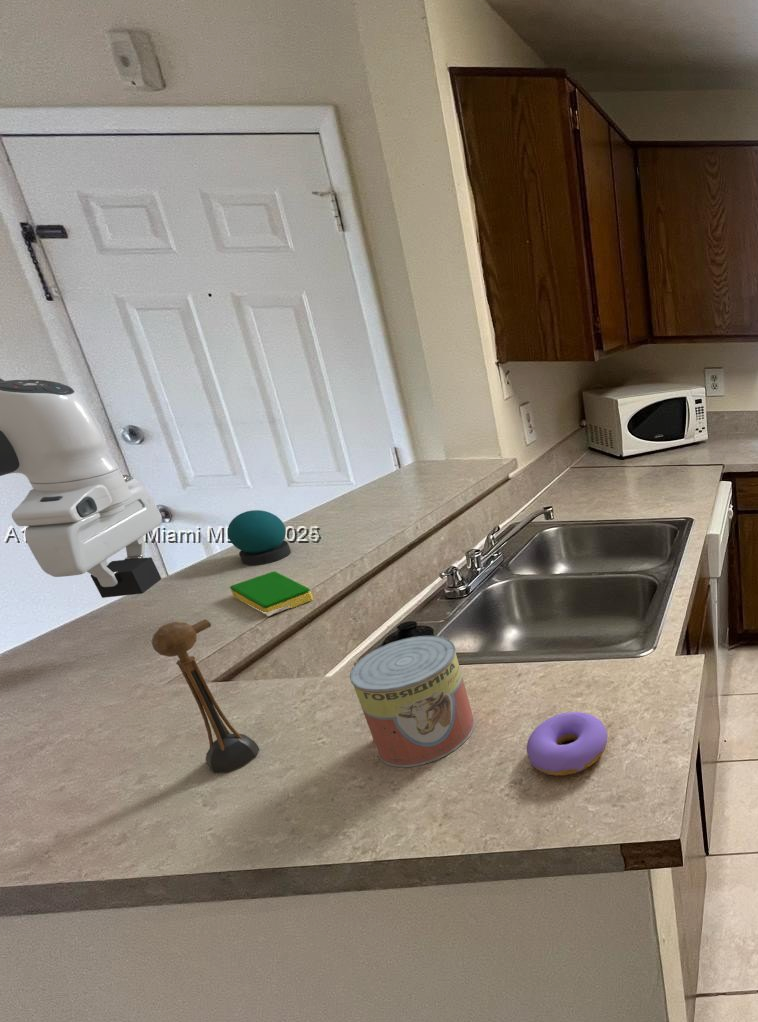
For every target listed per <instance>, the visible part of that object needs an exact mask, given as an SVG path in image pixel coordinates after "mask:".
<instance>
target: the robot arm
mask: <svg viewBox="0 0 758 1022" xmlns="http://www.w3.org/2000/svg"><path fill="white" fill-rule="evenodd" d="M9 474H21V475H24V476H25V477H26V478H27V480H28V482H29V483H30V485H31V488H32V489H30V490H29V492H28V493H27V495H26V496H25V497H24V499H23V500H22V501H21V502H20V504H18V506H17V507H16V508H15V509H14V510H13V511H12V513H11V518H12V521H13V522H14V524H15V525H16V526H18V527H26V529H25V531H24V537H25V541H26V543H27V545H28V548H29V550H30V551H31V553H32V555H33V557H34V559H35V560H36V562H37V564H38V566H39V567H40V569H41V570H42V571H43V572H44V573H45V574H47V575H49V576H51V577H54V578H61V577H73V576H80V575H83V574H86V573H88V574H90V575H93V576H95V577H97V579H98V581H99V583H100V585H101V586H103V587H111V586H115V585H116V584H118V583H119V582H121V580H122V579H121V577H120V575H119V573H118V571H117V572H112V571H111V570H110V569H109V568H108V567H106V566H107V565H109V563H110V562H109V560H108V559H109V558H111V557H112V556H113V555H115V554H117V553H119V552H120V551H122V550H123V549H125V551H126V557H124V560H128V559H139V558H147V557H146V555H145V548H146V547H145V546H146V541H145V539H144V536H145V535H147V534H148V533H150V532H151V531H153V530H154V529H156V528H158V527H159V526H161V525H162V522H163V516H162V514H161V511H160V510H159V508H158V506H157V504H156V503H155V501H154V499H153V497H152V496H151V494H150V493H149V492H148V490H147V489H146V488H145V487H144V486H142V485H140V483H139V482H138V480H137V479H136V478H133V477H132V476H130V475H128V474H123V473H122V471H121V469H120V467H119V465H118V463H117V462H116V461H115V460H114V459H113V458H112V456H111V455H110V454H109V451H108V450H107V440H106V437H105V435H104V432H103V431H102V428H101V426H100V423H99V422H98V420H97V418H96V417H95V415H94V413H93V411H92V410H91V408H90V407H89V405H88V404H87V402H86V400H85V399H84V398H83V397H82V396H81V394H79V393H78V392H77V391H76V390H75V389H74V388H72V387H71V386H69V385H67V384H63V383H61V382H58V381H52V380H46V379H44V380H43V379H12V380H11V379H9V380H4V379H2V378H0V477H2V476H5V475H9Z"/></svg>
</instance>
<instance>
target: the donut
mask: <svg viewBox="0 0 758 1022" xmlns="http://www.w3.org/2000/svg"><path fill="white" fill-rule="evenodd" d="M607 730H608V729H607V728H606V727H605V725H604V723H603V722H602V721H601V720H600V719H599V718H598V717H596V716H594V715H593V714H590V713H587V712H583V711H567V712H562V713H559V714H556V715H553V716H550V717H548V718H547V719H546V720H543V722H541V723H540V724H539V725H538V726H536V728H535V729H533V731H532V732H531V734H530V735H529V737H528V740H527V743H526V754H527V757H528V760H529V762H530V764H531V766H532V767H533V768H535V769H537V770H538V771H539V772H541V773H543V774H546V775H548V776H550V775H551V776H558V775H561V776H567V775H568V774H569V775H573V774H577V773H579V772H581V771H584V770H586V769H588V768H589V767H591V766H592V765H593V764H595V763H596V762H597V761H598V760H599V759H600V758H601V756H602V755H603V753H604V751H605V749H606V747H607V742H608V732H607ZM568 741H573V742H570V743H566V744H562V743H565V742H568ZM587 767H588V768H587ZM576 772H577V773H576ZM572 773H573V774H572ZM569 775H568V776H569Z"/></svg>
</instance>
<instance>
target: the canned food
mask: <svg viewBox="0 0 758 1022" xmlns="http://www.w3.org/2000/svg"><path fill="white" fill-rule="evenodd" d="M456 650H457V649H456V646H455V644H454V642H453V641H451V640H450V639H448V638H446V637H444V636H439V635H417V636H411V637H406V638H402V639H399V640H395V641H392V642H389V643H386V644H384V645H382V646H379V647H377V648H376V649H373V650H372V651H369V653H367V654H366V655H364V656H363V657H362V658H360V659H359V660H358V661H357V662H356V663H355V665H353V667H352V669H351V670H350V673H349V680H350V682H351V684H352V685H353V688H354V691H355V693H356V696H357V699H358V702H359V705H360V707H361V710H362V712H363V715H364V718H365V721H366V723H367V726H368V729H369V732H370V734H371V737H372V740H373V742H374V746H375V748H376V752H377V756H378V758H379V760H380V761H381V762H382V763H384V764H385V765H387V766H390V767H394V768H395V767H396V768H411V767H418V765H419V766H423V765H426V763H427V764H430V763H432V761H433V762H436V761H438V760H440V759H442V758H444V757H446V756H448V755H449V754H451V753H453V752H454V751H456V750H457V749H458V748H460V747H461V746H462V745H463V744H464V743H466V741H467V740H468V739H469V738H470V737H471V735H472V733H473V731H474V729H475V726H476V719H475V715H474V713H473V711H472V707H471V703H470V700H469V697H468V692H467V688H466V686H465V682H464V681H465V680H464V677H463V675H462V670H461V668H460V664H459V660H458V655H457V653H456Z"/></svg>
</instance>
